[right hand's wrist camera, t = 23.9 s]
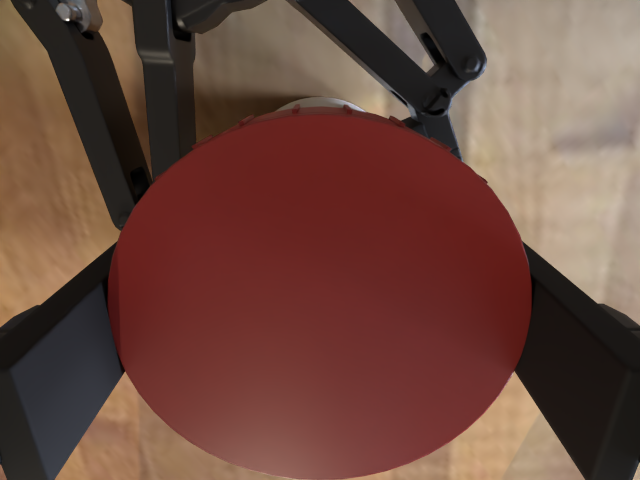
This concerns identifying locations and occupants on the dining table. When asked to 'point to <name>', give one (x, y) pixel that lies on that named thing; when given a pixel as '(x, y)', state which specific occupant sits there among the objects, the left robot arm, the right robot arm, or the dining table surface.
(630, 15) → the dining table surface
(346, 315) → the lid
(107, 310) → the right robot arm
